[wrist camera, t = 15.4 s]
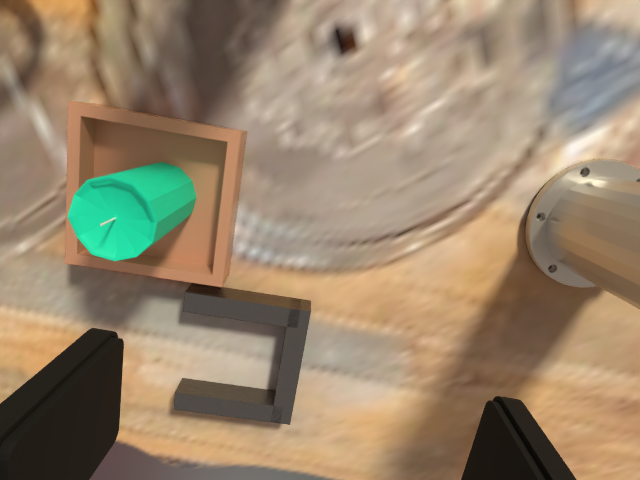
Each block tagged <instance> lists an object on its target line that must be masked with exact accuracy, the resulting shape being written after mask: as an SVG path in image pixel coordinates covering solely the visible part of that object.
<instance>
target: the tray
mask: <svg viewBox="0 0 640 480" xmlns="http://www.w3.org/2000/svg"><path fill="white" fill-rule="evenodd" d="M246 136H247V131H243V130H238V129H232V128H227V127H221V126H215V125H210V124H204V123H199V122H193V121H188V120H182V119H176V118H171V117H165V116H160V115H154V114H148V113H143V112H137V111H132V110H126V109H120V108H115V107H109V106H104V105H98V104H92V103H84V102H74V101H68V141H67V194H66V247H65V263H67V264H73V265H80V266H86V267H93V268H99V269H106V270H112V271H119V272H125V273H132V274H139V275H145V276H152V277H158V278H165V279H171V280H178V281H184V282H191V283H197V284H204V285H211V286H217V287H222V286H223V285H224V283H225V281H226V279H227V277H228V275H229V271H230V263H231V255H232V247H233V239H234V231H235V223H236V215H237V208H238V200H239V192H240V184H241V176H242V168H243V160H244V152H245V144H246ZM160 162H165V163H168V164H170V165H173V166H176V167H179V168H181V169H182V170H183V172H184V173H185V174H186V175H187V176H188V177H189V178H190V179H191V180H192V182H193V186H194V189H195V193H196V197H197V198H196V201H195V205H194V208H193V212H192V214H190V215H189V216H188V217H187V218H186V219H185V220H184V221H183V222H182V223H180V224H179V225H178V226H177V227H175V228H174V229H173V230H171V231H170V232H169V233H167V234H166V235H165V236H163V237H162V238H161V239H160V240H158V241H157V242H156V243H154V244H153V245H152V246H150V247H149V248H148V249H146V250H145V251H144V252H143V253H141V254H140V255H139V256H137V257H134V258H129V259H124V260H119V261H112V260H109V259H105V258H102V257H98V256H94V255H92V254H91V253H90V252H89V251H88V250H87V248H86V247H85V246H84V245H83V244H82V243H81V241H80V240H79V239H78V238H77V236H76V234H75V232H74V230H73V228H72V226H71V223H70V221H69V219H68V217H67V216H68V212H69V209H70V206H71V203H72V200H73V197H74V194H75V193H76V192H77V191H78V189H79V188H80V187H81V186H82V185H83V184H84V183H85V182H86V181H87V180H88V179H92V178H96V177H100V176H105V175H109V174H113V173H117V172H121V171H125V170H129V169H133V168H137V167H141V166H145V165H150V164H155V163H160Z"/></svg>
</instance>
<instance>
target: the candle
mask: <svg viewBox="0 0 640 480" xmlns="http://www.w3.org/2000/svg"><path fill="white" fill-rule="evenodd" d="M196 198H197V197H196V193H195V189H194V186H193V182H192V180H191V179H190V178H189V177H188V176H187V175H186V174H185V173H184V172H183V170H182V169H181V168H179V167H176V166H173V165H170V164H168V163H165V162H160V163H155V164H150V165H145V166H141V167H137V168H133V169H129V170H125V171H121V172H117V173H113V174H109V175H105V176H100V177H96V178H92V179H88V180H87V181H86V182H85V183H84V184H83V185H82V186H81V187H80V188H79V189H78V191H77V192H76V193H75V194H74V197H73V200H72V203H71V206H70V209H69V212H68V216H67V217H68V219H69V221H70V223H71V226H72V228H73V230H74V232H75V234H76V236H77V238H78V239H79V240H80V241H81V243H82V244H83V245H84V246H85V247H86V248H87V250H88V251H89V252H90V253H91V254H92V255H94V256H98V257H102V258H105V259H109V260H112V261H119V260H124V259H129V258H134V257H137V256H139V255H140V254H141V253H143V252H144V251H145V250H146V249H148V248H149V247H150V246H152V245H153V244H154V243H156V242H157V241H158V240H160V239H161V238H162V237H163V236H165V235H166V234H167V233H169V232H170V231H171V230H173V229H174V228H175V227H177V226H178V225H179V224H180V223H182V222H183V221H184V220H185V219H186V218H187V217H188V216H189V215H190V214H192V212H193V208H194V205H195V201H196Z"/></svg>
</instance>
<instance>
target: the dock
mask: <svg viewBox="0 0 640 480" xmlns="http://www.w3.org/2000/svg"><path fill="white" fill-rule="evenodd" d="M183 312H190V313H196V314H203V315H210V316H217V317H223V318H230V319H237V320H244V321H250V322H257V323H264V324H271V325H277V326H284V327H286V332H285V338H284V344H283V350H282V356H281V362H280V368H279V373H278V379H277V385H276V391H272V390H265V389H258V388H251V387H243V386H236V385H229V384H221V383H214V382H207V381H200V380H192V379H185V378H182V380H181V382H180V384H179V386H178V388H177V390H176V392H175V401H174V409H175V410H182V411H190V412H198V413H205V414H213V415H220V416H228V417H235V418H243V419H251V420H258V421H266V422H273V423H281V424H288V425H290V422H291V416H292V411H293V405H294V400H295V394H296V389H297V384H298V378H299V373H300V367H301V362H302V356H303V351H304V346H305V340H306V335H307V329H308V324H309V318H310V313H311V301H309V300H302V299H296V298H289V297H283V296H276V295H269V294H263V293H256V292H250V291H243V290H237V289H230V288H224V287H217V286H211V285H204V284H197V283H192V284H191V285H190V287H189V288H188V289H187V291H186V292H185V299H184V309H183Z"/></svg>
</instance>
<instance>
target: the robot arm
mask: <svg viewBox="0 0 640 480" xmlns="http://www.w3.org/2000/svg"><path fill="white" fill-rule="evenodd" d="M580 172H581V173H580ZM537 215H538V217H536V216H537ZM525 233H526V244H527V248H528V252H529V254H530V256H531V258H532V260H533V262H534V263H535V264H536V265H537V267H538V268H539V269H540V270H541V271H542V272H543V273H545V274H546V275H547V276H548V277H550V278H552V279H554V280H555V281H557V282H559V283H562V284H564V285H567V286H572V287H579V288H583V287H595V286H599V287H601V288H602V289H604V290H606V291H608V292H609V293H611V294H613V295H615V296H617V297H618V298H620V299H622V300H624V301H626V302H627V303H629V304H631V305H633V306H634V307H636V308H638V309H640V170H639V169H638V168H636V167H634V166H632V165H630V164H628V163H624V162H621V161H617V160H609V159H593V160H588V161H583V162H580V163H577V164H575V165H572V166H570V167H568V168H566V169H564V170H563V171H561V172H560V173H558V174H556V175H555V176H554V177H553V178H552V179H551V180H550V181H548V182H547V183H546V185H545V186H544V187H543V188H542V189H541V191H540V192H539V193H538V195H537V196H536V198H535V200H534V202H533V203H532V205H531V208H530V211H529V214H528V216H527V222H526V228H525ZM123 349H124V342H123V340H122V339H120V338H118V335H117V333H116V332H114V331H108V330H102V329H96V328H91V329H90V330H88V331H87V332H86V333H85V334H83V335H82V336H81V337H80V338H79V339H77V340H76V341H75V342H74V343H73V344H72V345H70V346H69V347H68V348H67V349H66V350H64V351H63V352H62V353H61V354H60V355H58V356H57V357H56V358H55V359H54V360H52V361H51V362H50V363H49V364H48V365H47V366H45V367H44V368H43V369H42V370H41V371H39V372H38V373H37V374H36V375H35V376H33V377H32V378H31V379H30V380H28V381H27V382H26V383H25V384H24V385H22V386H21V387H20V388H19V389H18V390H16V391H15V392H14V393H13V394H12V395H10V396H9V397H8V398H7V399H6V400H4V401H3V402H2V403H1V404H0V480H89V479H90V477H91V476H92V475H93V473H94V472H95V470H96V469H97V467H98V466H99V464H100V463H101V462H102V460H103V459H104V457H105V456H106V454H107V453H108V451H109V450H110V448H111V447H112V446H113V444H114V442H115V440H116V438H117V435H118V431H119V419H120V402H121V384H122V366H123ZM461 480H576V478H575V477H574V475H573V474H572V472H571V471H570V469H569V468H568V467H567V465H566V464H565V462H564V461H563V459H562V458H561V457H560V455H559V454H558V452H557V451H556V449H555V448H554V447H553V445H552V444H551V442H550V441H549V439H548V438H547V436H546V435H545V434H544V432H543V431H542V429H541V428H540V426H539V425H538V424H537V422H536V421H535V419H534V418H533V416H532V415H531V413H530V412H529V411H528V409H527V408H526V406H525V405H524V403H523V402H522V401H521V400H518V399H512V398H506V397H500V396H497V397H495V398H494V399H493V401H488V402H487V403H486V405H485V408H484V411H483V414H482V417H481V420H480V423H479V427H478V430H477V433H476V436H475V439H474V442H473V445H472V448H471V451H470V454H469V457H468V461H467V464H466V467H465V470H464V473H463V476H462V479H461Z"/></svg>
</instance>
